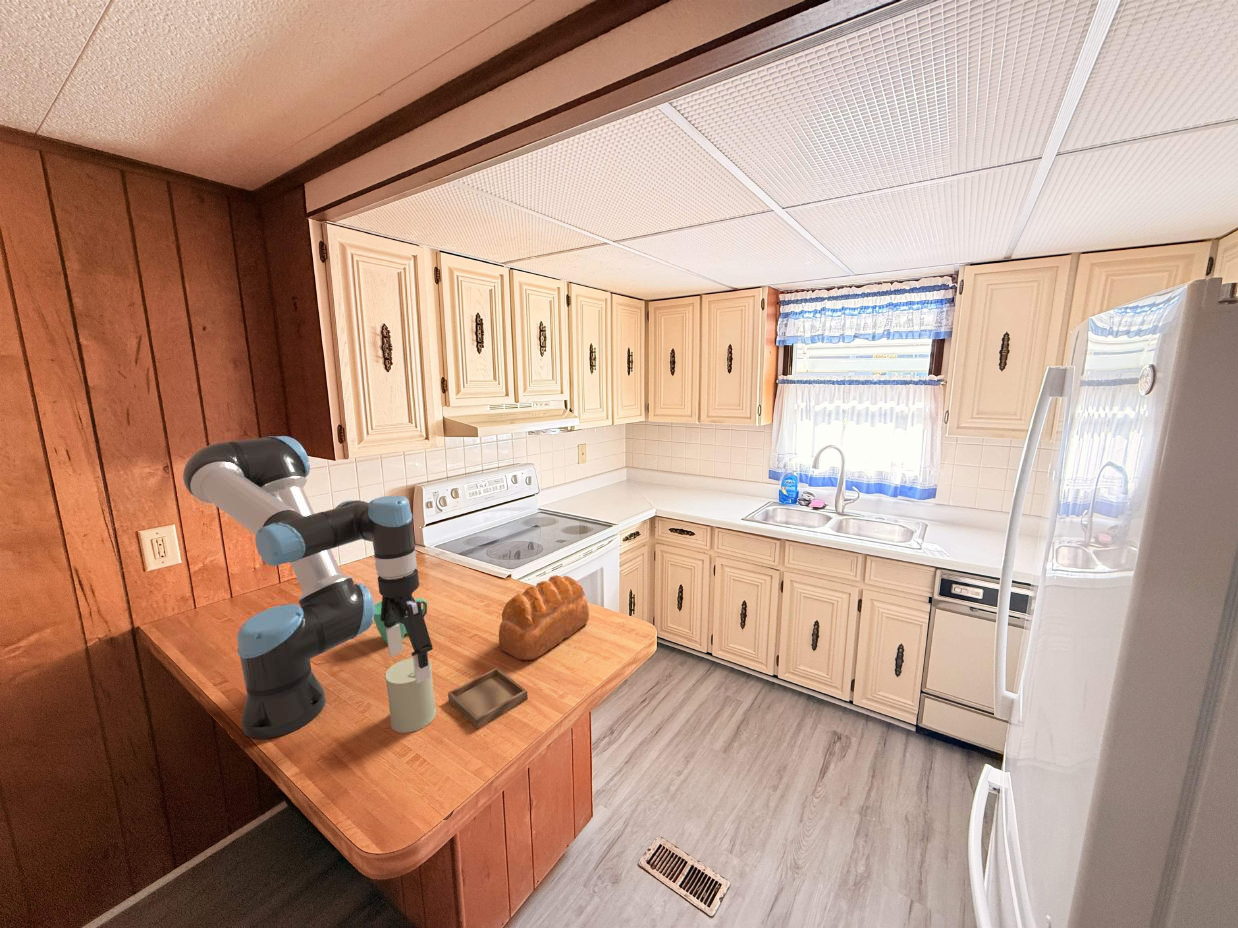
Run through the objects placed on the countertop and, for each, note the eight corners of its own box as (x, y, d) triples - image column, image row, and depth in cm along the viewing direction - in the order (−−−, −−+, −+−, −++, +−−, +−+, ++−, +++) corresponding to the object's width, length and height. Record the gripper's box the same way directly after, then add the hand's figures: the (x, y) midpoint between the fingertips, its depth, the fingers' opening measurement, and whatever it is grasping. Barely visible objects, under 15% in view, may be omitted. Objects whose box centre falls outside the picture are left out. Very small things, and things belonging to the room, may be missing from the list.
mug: (380, 652, 128) (375, 618, 126) (371, 637, 136) (366, 604, 134) (435, 633, 137) (432, 601, 136) (424, 619, 145) (420, 589, 143)
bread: (493, 649, 129) (489, 596, 126) (559, 609, 151) (557, 562, 148) (530, 666, 122) (526, 610, 118) (594, 621, 143) (593, 573, 140)
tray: (477, 728, 101) (476, 720, 100) (448, 700, 109) (447, 692, 109) (527, 698, 109) (527, 690, 109) (497, 675, 118) (496, 667, 118)
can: (408, 739, 98) (402, 687, 96) (381, 722, 103) (375, 672, 101) (445, 711, 106) (440, 663, 103) (419, 697, 111) (414, 650, 108)
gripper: (443, 583, 92) (454, 682, 96) (392, 552, 109) (402, 637, 113) (404, 597, 86) (416, 701, 90) (356, 562, 104) (369, 651, 108)
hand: (409, 666), depth 102 cm, fingers open, 13 cm apart
